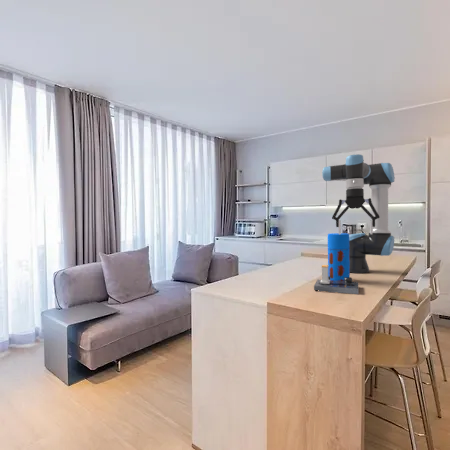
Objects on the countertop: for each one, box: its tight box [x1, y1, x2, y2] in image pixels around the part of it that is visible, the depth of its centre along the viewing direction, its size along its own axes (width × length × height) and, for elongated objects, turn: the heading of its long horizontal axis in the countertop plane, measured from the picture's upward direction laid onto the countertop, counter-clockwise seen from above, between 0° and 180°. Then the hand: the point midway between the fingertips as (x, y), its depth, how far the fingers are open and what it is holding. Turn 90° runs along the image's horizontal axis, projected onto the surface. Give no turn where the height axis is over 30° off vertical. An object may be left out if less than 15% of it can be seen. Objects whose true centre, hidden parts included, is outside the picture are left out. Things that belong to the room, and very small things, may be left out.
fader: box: [320, 264, 330, 284], centre depth 145 cm, size 5×4×8 cm
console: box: [313, 276, 359, 295], centre depth 144 cm, size 14×19×4 cm
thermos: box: [327, 232, 351, 281], centre depth 162 cm, size 11×11×25 cm
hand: (355, 234), depth 141 cm, fingers open, 13 cm apart
